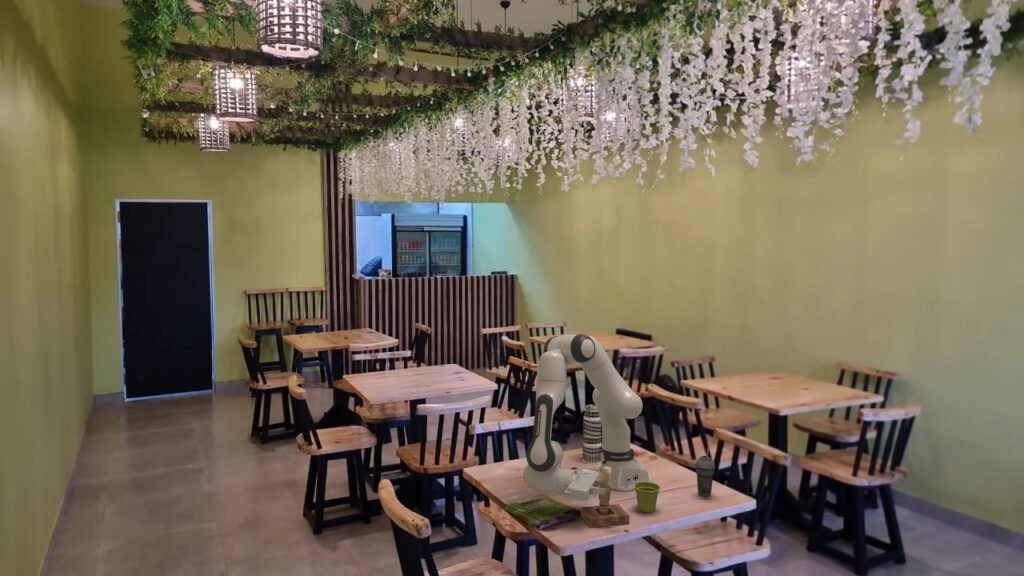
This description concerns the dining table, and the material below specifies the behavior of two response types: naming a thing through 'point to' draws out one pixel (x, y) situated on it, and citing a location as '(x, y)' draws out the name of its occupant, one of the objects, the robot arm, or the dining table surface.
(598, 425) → the decorative candle
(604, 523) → the brown wooden frame
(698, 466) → the beverage cup
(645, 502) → the plant pot
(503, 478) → the dining table surface
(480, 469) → the dining table surface
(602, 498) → the peg
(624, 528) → the dining table surface
